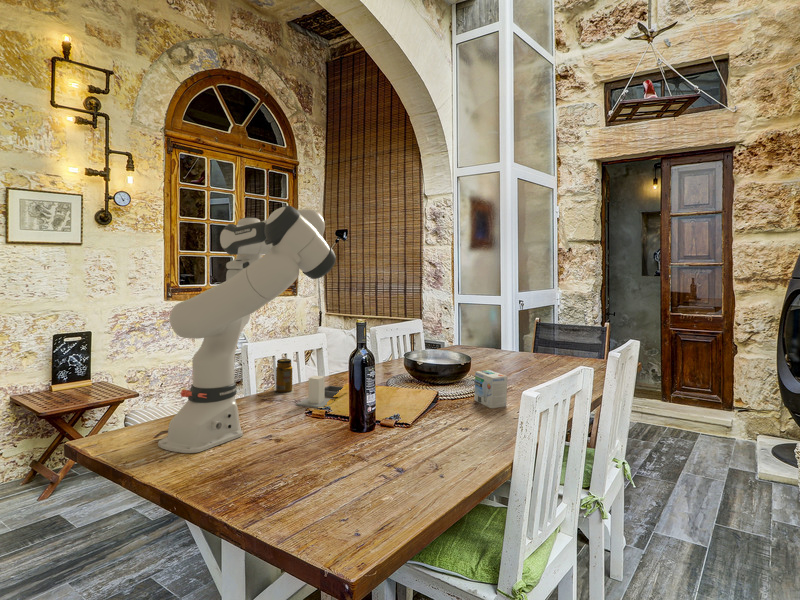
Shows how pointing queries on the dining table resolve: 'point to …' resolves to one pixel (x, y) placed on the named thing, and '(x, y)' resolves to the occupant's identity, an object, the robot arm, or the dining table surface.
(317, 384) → the post
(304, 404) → the tile
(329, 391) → the collar
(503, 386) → the light bulb box
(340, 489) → the dining table surface
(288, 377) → the condiment
